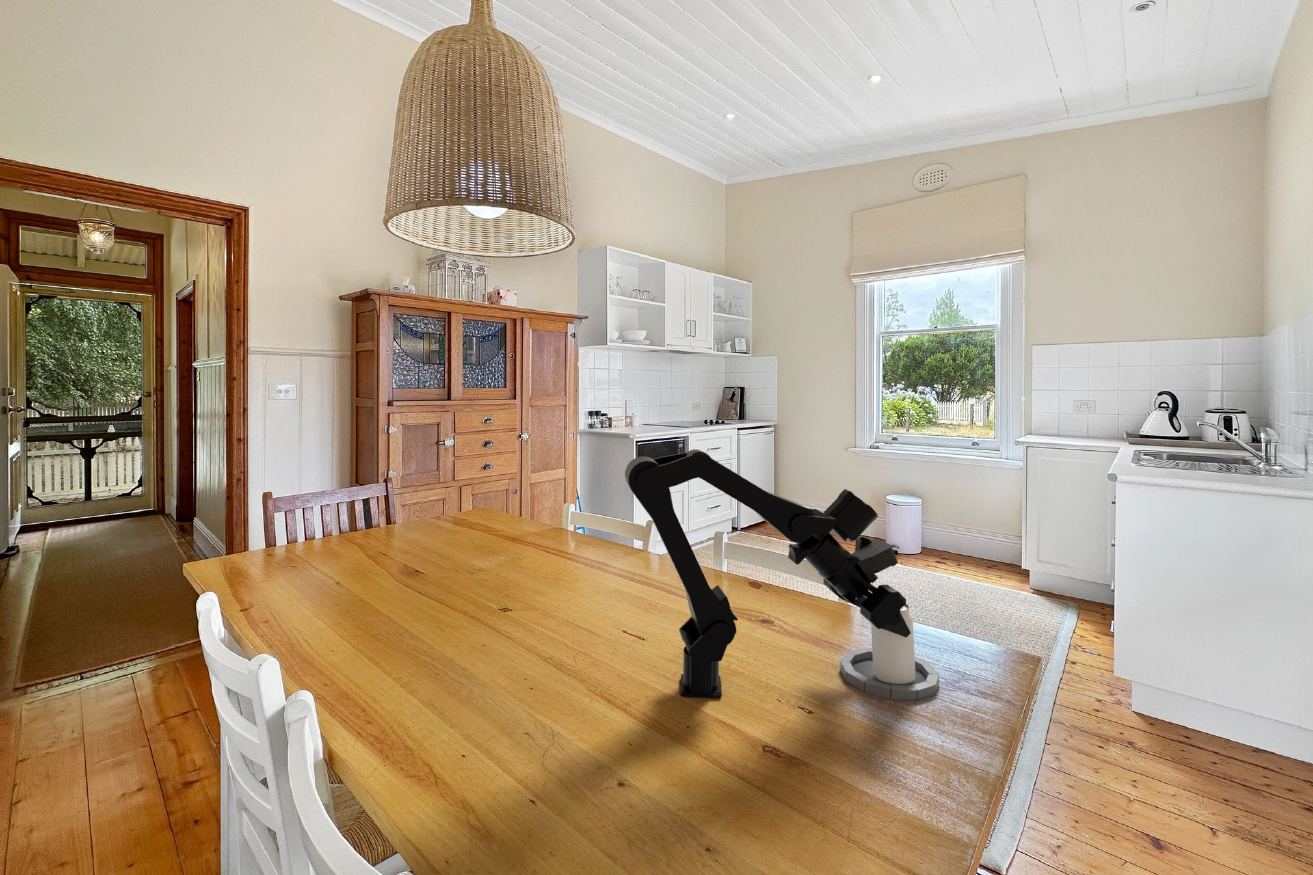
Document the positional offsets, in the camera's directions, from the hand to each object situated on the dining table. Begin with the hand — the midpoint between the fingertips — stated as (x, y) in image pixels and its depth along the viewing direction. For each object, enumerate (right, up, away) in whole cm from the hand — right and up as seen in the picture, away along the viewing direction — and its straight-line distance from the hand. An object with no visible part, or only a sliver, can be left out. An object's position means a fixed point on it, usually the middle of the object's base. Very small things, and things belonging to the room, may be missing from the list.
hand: (893, 623), depth 100 cm
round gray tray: (-1, -9, 0) cm, 9 cm away
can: (0, -9, -1) cm, 9 cm away
